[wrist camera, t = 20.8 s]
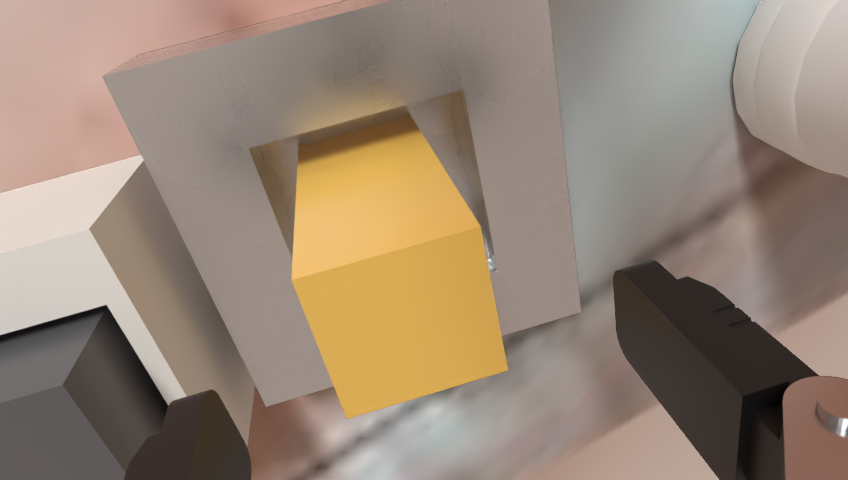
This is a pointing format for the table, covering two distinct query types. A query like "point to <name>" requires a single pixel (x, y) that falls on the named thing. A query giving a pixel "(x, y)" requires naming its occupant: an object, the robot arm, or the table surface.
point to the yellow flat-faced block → (391, 269)
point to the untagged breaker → (74, 400)
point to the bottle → (797, 80)
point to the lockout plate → (342, 113)
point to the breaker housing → (119, 277)
